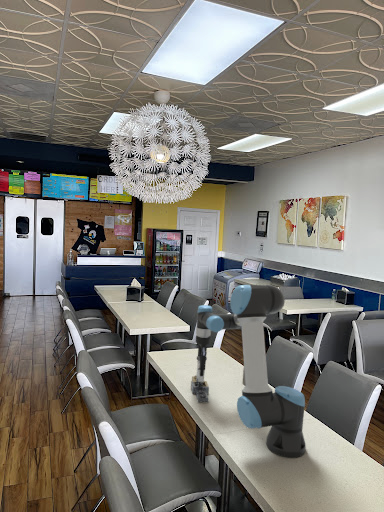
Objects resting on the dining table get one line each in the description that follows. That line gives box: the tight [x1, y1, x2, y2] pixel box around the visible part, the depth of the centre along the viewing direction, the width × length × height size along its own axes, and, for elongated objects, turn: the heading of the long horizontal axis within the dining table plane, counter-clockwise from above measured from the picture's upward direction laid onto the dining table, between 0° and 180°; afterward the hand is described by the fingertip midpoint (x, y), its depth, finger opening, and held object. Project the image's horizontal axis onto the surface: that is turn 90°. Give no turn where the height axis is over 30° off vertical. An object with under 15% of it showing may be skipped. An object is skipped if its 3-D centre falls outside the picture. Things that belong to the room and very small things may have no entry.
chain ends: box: [190, 374, 210, 403], centre depth 204 cm, size 27×8×4 cm, turn 7°
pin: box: [196, 355, 208, 386], centre depth 203 cm, size 5×5×15 cm
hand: (200, 379), depth 203 cm, fingers closed on pin, 4 cm apart
